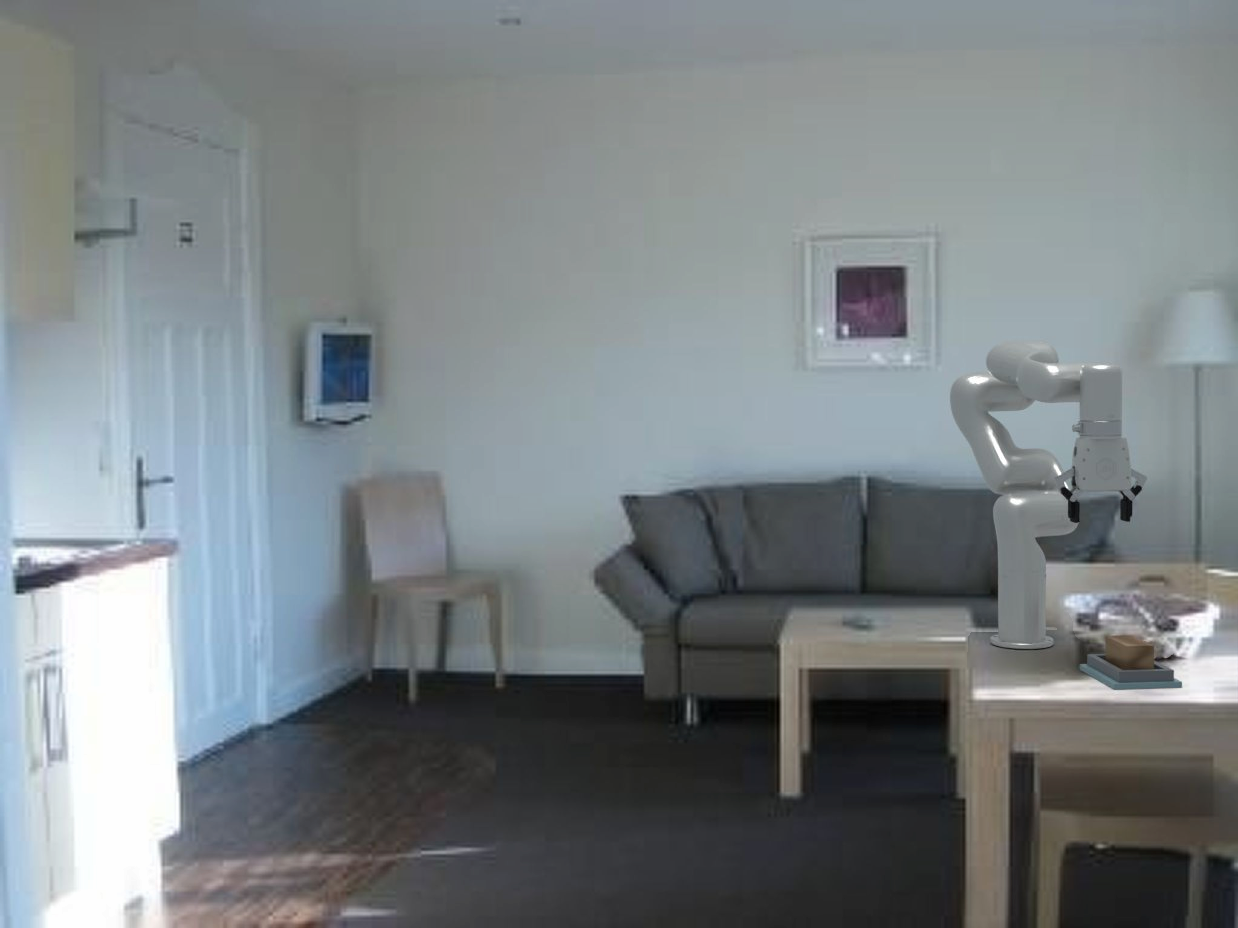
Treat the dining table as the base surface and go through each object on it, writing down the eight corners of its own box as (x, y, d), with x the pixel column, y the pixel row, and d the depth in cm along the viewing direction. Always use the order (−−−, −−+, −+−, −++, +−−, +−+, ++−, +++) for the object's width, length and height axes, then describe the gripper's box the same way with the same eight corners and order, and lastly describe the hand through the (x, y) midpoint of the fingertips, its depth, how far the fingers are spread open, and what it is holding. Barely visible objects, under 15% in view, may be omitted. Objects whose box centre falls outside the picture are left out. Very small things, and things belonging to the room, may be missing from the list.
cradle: (1079, 669, 284) (1079, 653, 283) (1143, 667, 284) (1143, 651, 284) (1113, 689, 267) (1114, 672, 266) (1181, 687, 267) (1182, 670, 267)
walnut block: (1126, 678, 270) (1127, 646, 270) (1105, 667, 280) (1105, 635, 280) (1153, 678, 271) (1154, 645, 270) (1131, 666, 281) (1131, 635, 280)
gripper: (1061, 432, 275) (1061, 525, 276) (1154, 430, 276) (1153, 522, 277) (1048, 430, 282) (1047, 520, 283) (1138, 428, 283) (1137, 518, 284)
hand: (1100, 521), depth 280 cm, fingers open, 9 cm apart
